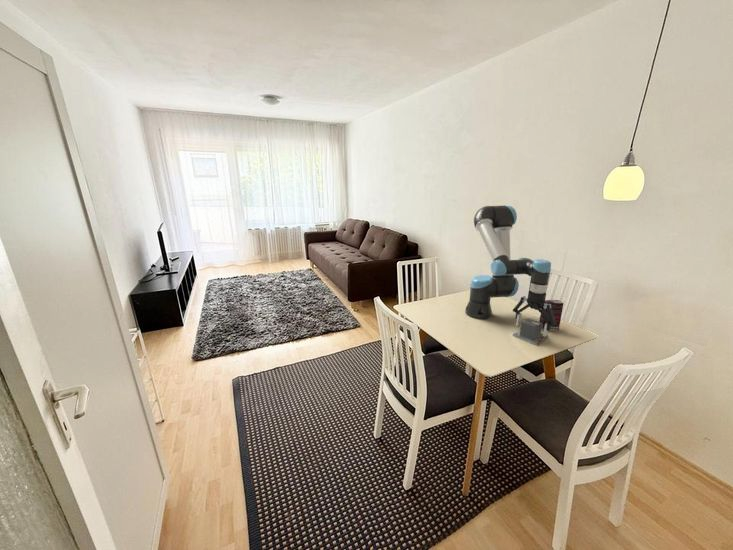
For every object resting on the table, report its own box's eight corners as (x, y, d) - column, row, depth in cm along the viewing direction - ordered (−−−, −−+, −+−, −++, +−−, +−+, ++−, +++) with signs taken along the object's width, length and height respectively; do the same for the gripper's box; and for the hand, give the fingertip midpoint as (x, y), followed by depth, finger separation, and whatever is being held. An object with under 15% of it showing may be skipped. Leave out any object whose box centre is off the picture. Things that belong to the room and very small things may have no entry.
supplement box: (554, 326, 162) (559, 299, 157) (558, 330, 157) (564, 303, 153) (537, 326, 163) (542, 299, 158) (541, 330, 158) (546, 302, 154)
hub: (512, 335, 153) (513, 325, 151) (524, 329, 160) (525, 319, 158) (536, 345, 144) (538, 334, 142) (547, 338, 150) (549, 327, 148)
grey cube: (526, 330, 156) (528, 317, 154) (540, 335, 150) (542, 322, 148) (519, 334, 152) (521, 321, 150) (533, 339, 146) (535, 326, 144)
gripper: (508, 286, 152) (503, 323, 158) (562, 300, 132) (553, 342, 139) (516, 283, 156) (511, 319, 162) (569, 296, 137) (561, 337, 143)
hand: (531, 330), depth 150 cm, fingers open, 13 cm apart
